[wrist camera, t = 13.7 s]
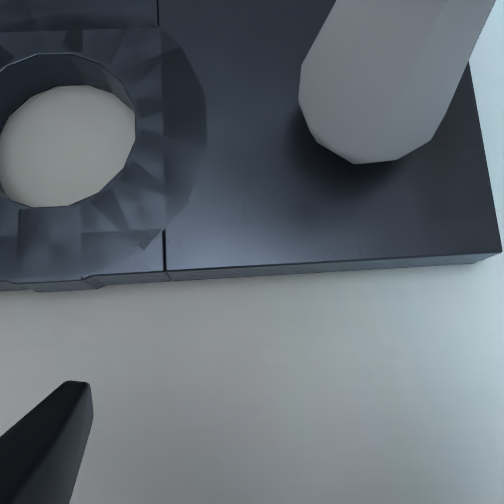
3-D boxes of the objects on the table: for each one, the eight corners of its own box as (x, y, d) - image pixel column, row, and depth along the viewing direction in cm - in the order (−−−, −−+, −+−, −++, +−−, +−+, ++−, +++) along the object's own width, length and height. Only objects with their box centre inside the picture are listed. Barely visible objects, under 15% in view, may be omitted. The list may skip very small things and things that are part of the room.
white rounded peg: (437, 85, 21) (732, -307, 9) (403, 200, 20) (688, -62, 8) (313, 44, 22) (425, -397, 9) (272, 155, 20) (335, -173, 8)
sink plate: (433, 17, 25) (455, -20, 23) (474, 266, 22) (504, 256, 20) (-63, 33, 24) (-97, -4, 21) (-85, 299, 21) (-127, 292, 19)
